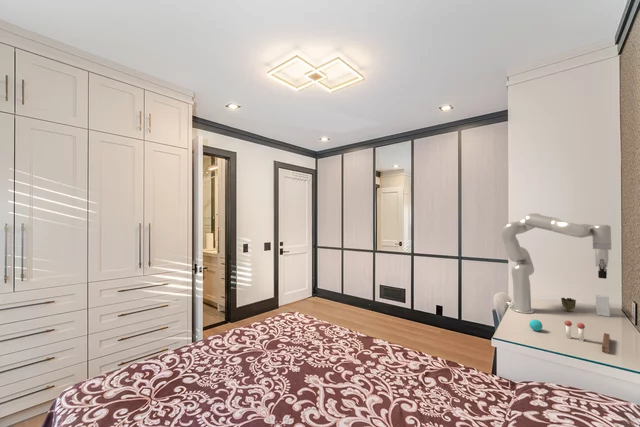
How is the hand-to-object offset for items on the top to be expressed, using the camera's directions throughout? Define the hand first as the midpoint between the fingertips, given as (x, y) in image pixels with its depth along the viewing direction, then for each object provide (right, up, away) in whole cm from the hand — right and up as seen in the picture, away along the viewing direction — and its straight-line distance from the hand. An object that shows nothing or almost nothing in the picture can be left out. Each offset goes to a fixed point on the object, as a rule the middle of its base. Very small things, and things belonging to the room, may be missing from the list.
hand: (602, 276), depth 162 cm
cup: (+5, -29, +28) cm, 41 cm away
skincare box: (+19, -29, +19) cm, 39 cm away
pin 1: (-29, -30, -11) cm, 43 cm away
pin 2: (-25, -30, -14) cm, 41 cm away
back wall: (-19, -30, -21) cm, 41 cm away
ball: (-38, -27, 0) cm, 47 cm away
